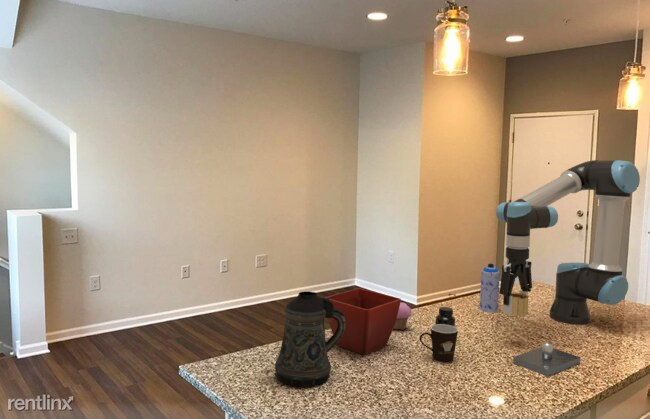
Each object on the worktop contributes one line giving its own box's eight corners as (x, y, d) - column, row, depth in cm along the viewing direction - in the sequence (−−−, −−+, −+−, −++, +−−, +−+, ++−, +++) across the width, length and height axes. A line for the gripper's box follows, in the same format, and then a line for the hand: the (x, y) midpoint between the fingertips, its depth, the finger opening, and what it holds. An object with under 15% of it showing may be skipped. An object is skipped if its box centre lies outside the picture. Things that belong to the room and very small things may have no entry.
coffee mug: (457, 355, 168) (459, 326, 167) (455, 365, 160) (457, 334, 159) (422, 350, 171) (423, 321, 170) (418, 360, 163) (419, 329, 162)
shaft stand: (545, 351, 173) (546, 332, 172) (580, 363, 163) (581, 343, 162) (513, 362, 162) (514, 343, 162) (548, 376, 153) (549, 355, 152)
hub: (512, 307, 183) (512, 291, 182) (532, 313, 177) (533, 296, 176) (498, 311, 178) (498, 294, 178) (518, 317, 172) (519, 300, 171)
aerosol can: (500, 312, 216) (503, 266, 214) (482, 312, 216) (484, 265, 214) (494, 307, 224) (497, 262, 222) (476, 306, 224) (479, 261, 222)
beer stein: (266, 371, 153) (266, 289, 151) (322, 359, 163) (323, 282, 160) (289, 393, 139) (290, 304, 136) (350, 379, 148) (352, 295, 146)
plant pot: (400, 345, 176) (402, 298, 174) (366, 361, 162) (367, 309, 160) (358, 332, 189) (359, 287, 187) (322, 345, 175) (323, 297, 173)
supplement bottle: (450, 346, 176) (452, 312, 174) (431, 342, 179) (432, 309, 178) (456, 340, 181) (458, 307, 180) (438, 337, 185) (439, 304, 184)
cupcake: (409, 325, 197) (410, 300, 196) (411, 333, 189) (412, 306, 188) (386, 324, 198) (387, 299, 197) (387, 331, 190) (388, 305, 189)
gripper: (525, 242, 184) (523, 303, 187) (489, 248, 172) (487, 314, 175) (545, 245, 178) (542, 308, 180) (508, 252, 166) (506, 320, 168)
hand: (515, 311), depth 177 cm, fingers closed on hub, 8 cm apart
